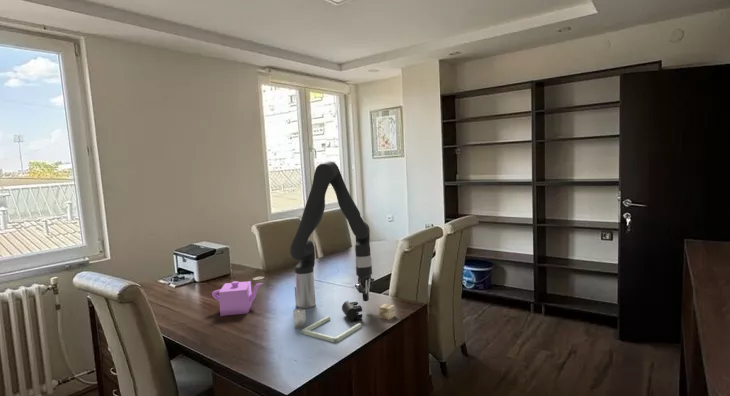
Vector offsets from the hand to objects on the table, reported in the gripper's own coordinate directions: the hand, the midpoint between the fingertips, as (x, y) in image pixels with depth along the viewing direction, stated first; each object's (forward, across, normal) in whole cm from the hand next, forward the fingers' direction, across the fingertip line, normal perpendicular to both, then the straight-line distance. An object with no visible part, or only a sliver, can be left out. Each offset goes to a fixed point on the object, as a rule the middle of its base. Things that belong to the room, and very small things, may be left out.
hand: (365, 300), depth 188 cm
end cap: (+5, +11, 0) cm, 12 cm away
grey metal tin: (+5, +29, -15) cm, 33 cm away
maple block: (+5, +2, +13) cm, 14 cm away
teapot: (+4, +28, -58) cm, 65 cm away
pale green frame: (+5, +25, 0) cm, 25 cm away
